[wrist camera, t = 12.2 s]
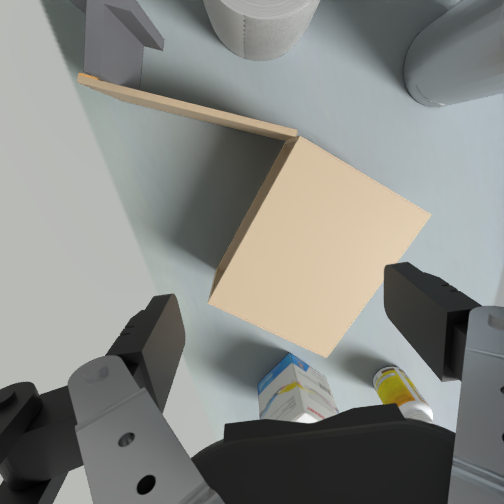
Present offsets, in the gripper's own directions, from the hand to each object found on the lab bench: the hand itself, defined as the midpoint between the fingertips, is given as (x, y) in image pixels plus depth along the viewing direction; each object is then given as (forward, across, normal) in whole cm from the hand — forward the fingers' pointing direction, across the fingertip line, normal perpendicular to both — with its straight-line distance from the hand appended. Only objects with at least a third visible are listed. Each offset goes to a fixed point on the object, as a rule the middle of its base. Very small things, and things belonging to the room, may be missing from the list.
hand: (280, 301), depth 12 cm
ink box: (+30, -2, +32) cm, 44 cm away
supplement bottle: (+30, -18, +33) cm, 48 cm away
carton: (+30, -5, +7) cm, 31 cm away
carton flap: (+30, +4, -13) cm, 33 cm away
